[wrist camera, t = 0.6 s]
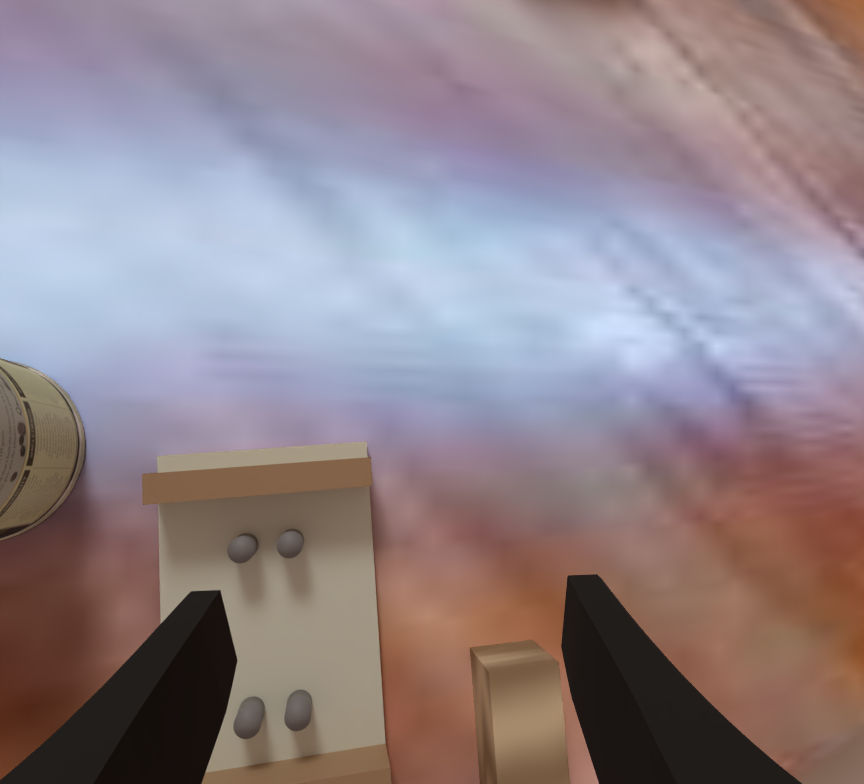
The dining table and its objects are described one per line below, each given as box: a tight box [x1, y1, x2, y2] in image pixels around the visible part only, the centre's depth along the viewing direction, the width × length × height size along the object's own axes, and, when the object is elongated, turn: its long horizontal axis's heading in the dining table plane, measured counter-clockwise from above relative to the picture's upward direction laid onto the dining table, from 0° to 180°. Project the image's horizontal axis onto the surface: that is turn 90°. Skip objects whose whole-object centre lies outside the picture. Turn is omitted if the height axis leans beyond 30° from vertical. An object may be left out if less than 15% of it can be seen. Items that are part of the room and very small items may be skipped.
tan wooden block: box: [470, 640, 570, 784], centre depth 33 cm, size 12×4×5 cm, turn 4°
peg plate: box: [142, 442, 391, 784], centre depth 32 cm, size 20×12×3 cm, turn 4°
